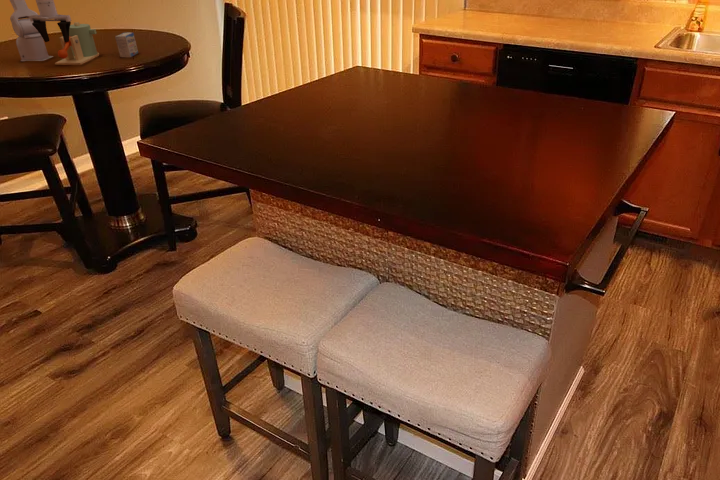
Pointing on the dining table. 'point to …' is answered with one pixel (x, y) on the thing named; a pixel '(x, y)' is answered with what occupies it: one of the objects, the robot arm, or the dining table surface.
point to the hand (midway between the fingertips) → (57, 41)
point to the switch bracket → (78, 53)
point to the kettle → (84, 38)
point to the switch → (64, 50)
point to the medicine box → (126, 44)
